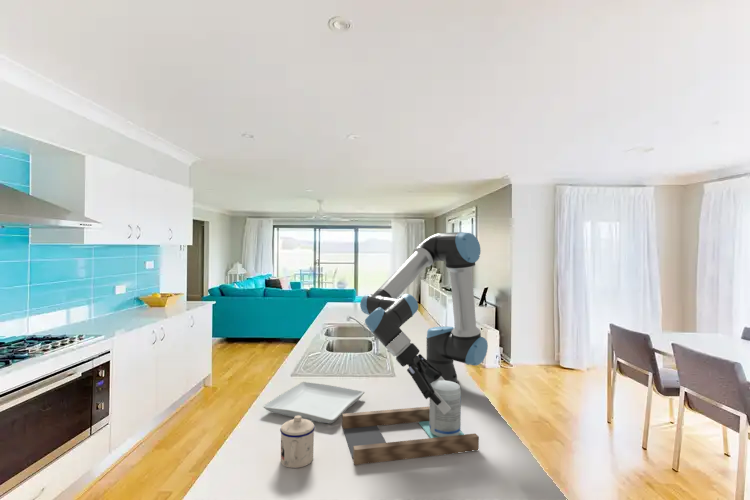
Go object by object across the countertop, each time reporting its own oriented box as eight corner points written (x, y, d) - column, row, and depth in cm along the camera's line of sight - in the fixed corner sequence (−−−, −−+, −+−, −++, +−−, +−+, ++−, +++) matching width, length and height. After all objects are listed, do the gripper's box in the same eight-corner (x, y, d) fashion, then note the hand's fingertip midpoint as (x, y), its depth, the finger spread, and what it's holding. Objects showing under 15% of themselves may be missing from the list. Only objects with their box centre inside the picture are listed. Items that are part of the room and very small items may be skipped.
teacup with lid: (283, 450, 108) (284, 409, 108) (316, 450, 108) (316, 409, 108) (273, 476, 96) (274, 429, 96) (310, 476, 96) (310, 429, 96)
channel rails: (446, 416, 132) (446, 405, 132) (478, 450, 110) (478, 436, 110) (342, 426, 124) (342, 413, 123) (354, 464, 102) (354, 449, 102)
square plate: (333, 431, 121) (333, 419, 121) (260, 416, 130) (261, 405, 130) (365, 399, 146) (365, 389, 146) (302, 389, 156) (302, 380, 156)
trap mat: (377, 426, 123) (377, 425, 123) (391, 455, 107) (391, 453, 107) (343, 430, 121) (343, 428, 121) (352, 459, 104) (352, 457, 104)
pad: (449, 420, 129) (449, 418, 129) (473, 445, 112) (473, 444, 112) (418, 423, 127) (418, 421, 127) (438, 449, 110) (438, 448, 110)
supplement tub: (466, 434, 118) (467, 387, 118) (444, 442, 113) (445, 393, 113) (444, 422, 126) (445, 377, 126) (422, 429, 121) (423, 382, 121)
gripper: (403, 347, 136) (445, 395, 132) (385, 368, 112) (435, 427, 108) (418, 333, 134) (461, 381, 130) (403, 352, 110) (455, 411, 106)
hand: (450, 402), depth 119 cm, fingers open, 13 cm apart
